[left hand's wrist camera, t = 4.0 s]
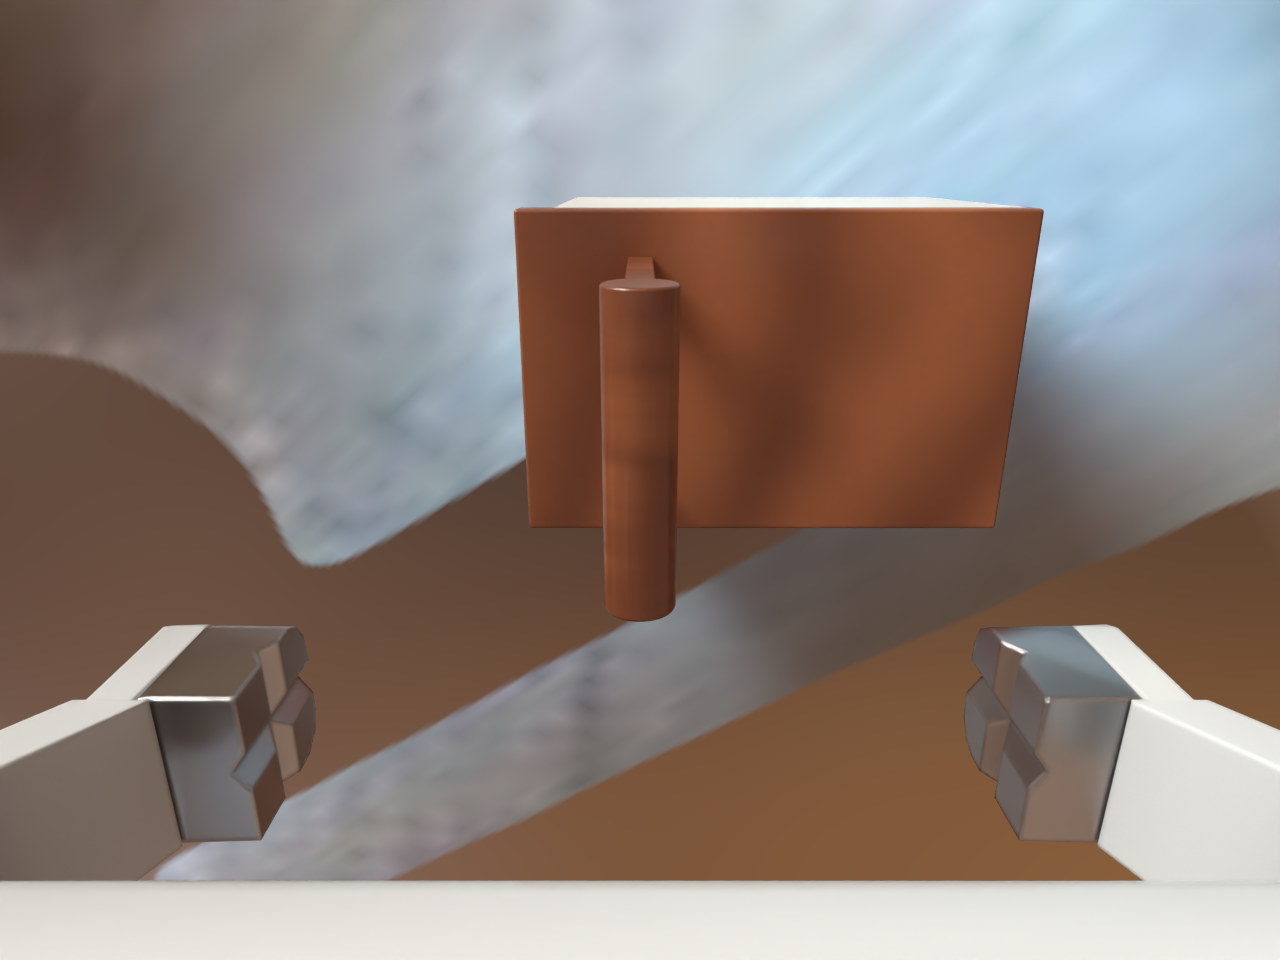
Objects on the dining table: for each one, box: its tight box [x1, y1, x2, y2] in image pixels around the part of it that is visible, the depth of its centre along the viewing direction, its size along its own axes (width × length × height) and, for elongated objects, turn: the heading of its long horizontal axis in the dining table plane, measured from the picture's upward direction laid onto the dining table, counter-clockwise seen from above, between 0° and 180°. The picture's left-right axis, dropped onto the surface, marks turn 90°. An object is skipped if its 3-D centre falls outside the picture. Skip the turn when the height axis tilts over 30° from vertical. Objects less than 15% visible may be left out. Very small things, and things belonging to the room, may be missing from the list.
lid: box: [514, 207, 1044, 622], centre depth 22 cm, size 15×10×9 cm, turn 90°
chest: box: [554, 197, 1020, 208], centre depth 30 cm, size 14×10×9 cm
